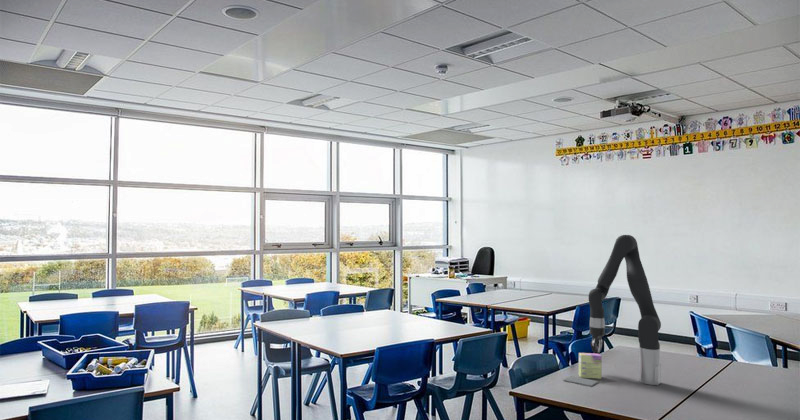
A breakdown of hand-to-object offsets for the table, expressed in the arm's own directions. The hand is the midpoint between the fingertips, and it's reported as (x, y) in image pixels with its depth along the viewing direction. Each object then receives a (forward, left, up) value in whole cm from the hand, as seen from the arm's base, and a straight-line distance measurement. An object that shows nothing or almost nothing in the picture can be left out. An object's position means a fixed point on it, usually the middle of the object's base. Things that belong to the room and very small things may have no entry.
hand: (596, 358), depth 284 cm
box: (0, +10, -8) cm, 13 cm away
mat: (0, +22, -8) cm, 23 cm away
